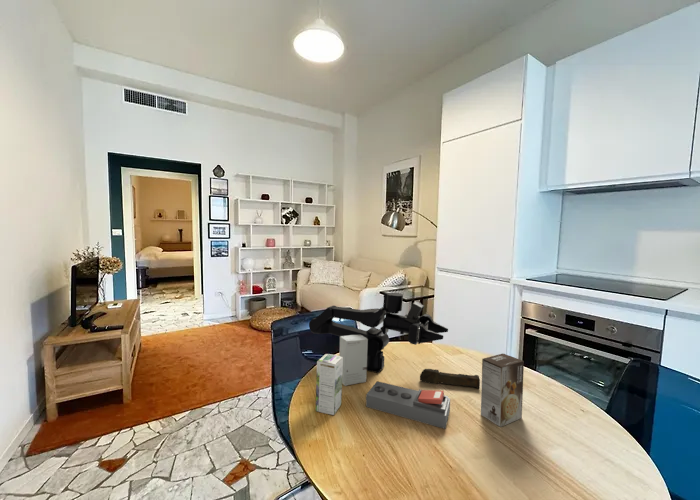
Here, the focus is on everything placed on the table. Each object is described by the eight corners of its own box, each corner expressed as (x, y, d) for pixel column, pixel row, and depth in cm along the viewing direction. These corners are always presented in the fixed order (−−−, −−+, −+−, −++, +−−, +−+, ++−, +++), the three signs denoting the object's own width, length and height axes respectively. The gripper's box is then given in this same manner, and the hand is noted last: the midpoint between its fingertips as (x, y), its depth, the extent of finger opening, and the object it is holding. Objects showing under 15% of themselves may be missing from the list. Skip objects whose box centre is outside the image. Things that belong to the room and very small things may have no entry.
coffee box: (501, 406, 87) (503, 352, 86) (522, 418, 81) (525, 360, 80) (479, 414, 83) (481, 358, 82) (500, 428, 77) (503, 367, 76)
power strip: (365, 406, 86) (366, 391, 85) (376, 391, 94) (377, 377, 93) (445, 428, 76) (446, 411, 76) (449, 410, 84) (450, 395, 84)
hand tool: (477, 384, 100) (478, 371, 100) (480, 390, 96) (480, 376, 96) (419, 378, 104) (420, 365, 104) (420, 383, 100) (420, 370, 100)
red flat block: (418, 403, 81) (418, 398, 81) (422, 394, 85) (421, 389, 85) (441, 404, 78) (440, 399, 78) (444, 395, 83) (443, 390, 83)
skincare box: (344, 386, 97) (345, 341, 96) (337, 378, 102) (338, 335, 102) (367, 382, 100) (368, 338, 99) (360, 374, 106) (360, 332, 105)
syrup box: (323, 401, 88) (324, 352, 87) (342, 405, 86) (343, 355, 85) (315, 411, 83) (315, 360, 82) (334, 416, 81) (335, 363, 80)
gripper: (394, 305, 97) (443, 315, 90) (409, 297, 113) (452, 305, 106) (390, 339, 97) (439, 351, 90) (406, 326, 114) (449, 335, 107)
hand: (445, 333), depth 98 cm, fingers open, 9 cm apart
